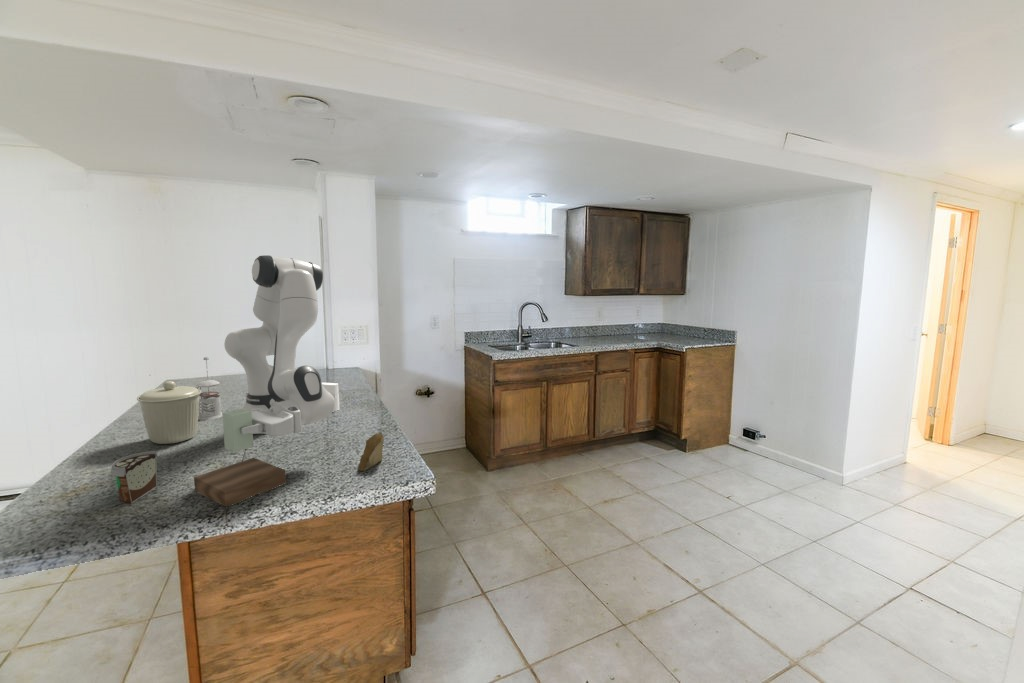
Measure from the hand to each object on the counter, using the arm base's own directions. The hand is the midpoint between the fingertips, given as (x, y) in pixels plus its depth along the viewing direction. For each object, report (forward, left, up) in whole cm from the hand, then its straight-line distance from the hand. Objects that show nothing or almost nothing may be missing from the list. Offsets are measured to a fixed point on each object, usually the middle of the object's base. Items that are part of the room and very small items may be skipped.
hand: (234, 428), depth 122 cm
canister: (-57, +8, -17) cm, 60 cm away
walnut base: (0, +1, -17) cm, 17 cm away
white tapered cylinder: (-43, +61, -17) cm, 76 cm away
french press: (-76, +28, -17) cm, 83 cm away
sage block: (0, +1, -5) cm, 6 cm away
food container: (-19, -17, -17) cm, 31 cm away
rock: (+17, +31, -17) cm, 39 cm away
